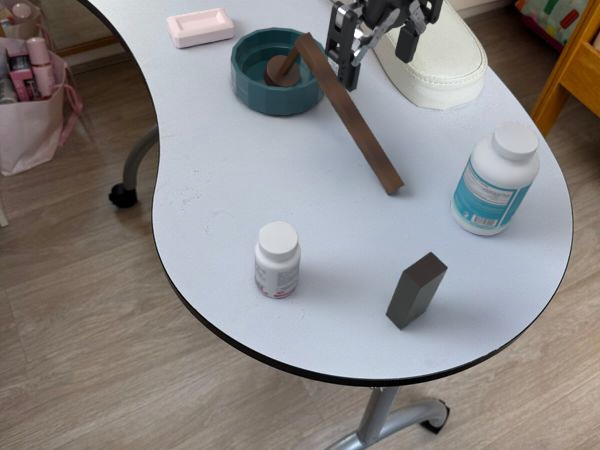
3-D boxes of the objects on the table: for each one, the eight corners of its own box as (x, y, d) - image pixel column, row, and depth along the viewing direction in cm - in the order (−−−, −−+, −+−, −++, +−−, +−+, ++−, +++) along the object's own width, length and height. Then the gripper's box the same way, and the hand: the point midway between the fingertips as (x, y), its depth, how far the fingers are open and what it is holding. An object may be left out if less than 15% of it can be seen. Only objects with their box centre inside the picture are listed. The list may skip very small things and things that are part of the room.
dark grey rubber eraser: (384, 314, 63) (402, 271, 56) (410, 295, 65) (431, 250, 58) (400, 330, 62) (419, 288, 55) (426, 310, 64) (448, 267, 57)
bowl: (338, 74, 86) (342, 46, 82) (300, 130, 79) (303, 102, 75) (258, 45, 89) (259, 17, 85) (215, 97, 82) (213, 69, 78)
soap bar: (235, 38, 89) (234, 25, 88) (177, 50, 87) (175, 36, 85) (223, 18, 92) (223, 4, 90) (167, 29, 90) (165, 15, 88)
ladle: (256, 69, 82) (280, 27, 72) (284, 57, 83) (310, 14, 74) (349, 218, 81) (386, 196, 71) (374, 202, 83) (413, 179, 73)
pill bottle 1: (300, 266, 66) (306, 222, 60) (293, 302, 64) (298, 261, 57) (259, 258, 67) (260, 214, 60) (250, 294, 64) (250, 252, 57)
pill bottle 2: (489, 185, 75) (530, 106, 65) (519, 230, 71) (567, 155, 61) (437, 197, 74) (470, 118, 63) (465, 244, 70) (504, 169, 59)
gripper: (376, -30, 48) (350, 117, 61) (490, -76, 53) (443, 67, 67) (318, -70, 51) (305, 77, 64) (431, -110, 57) (398, 33, 70)
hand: (375, 72), depth 65 cm, fingers open, 8 cm apart
